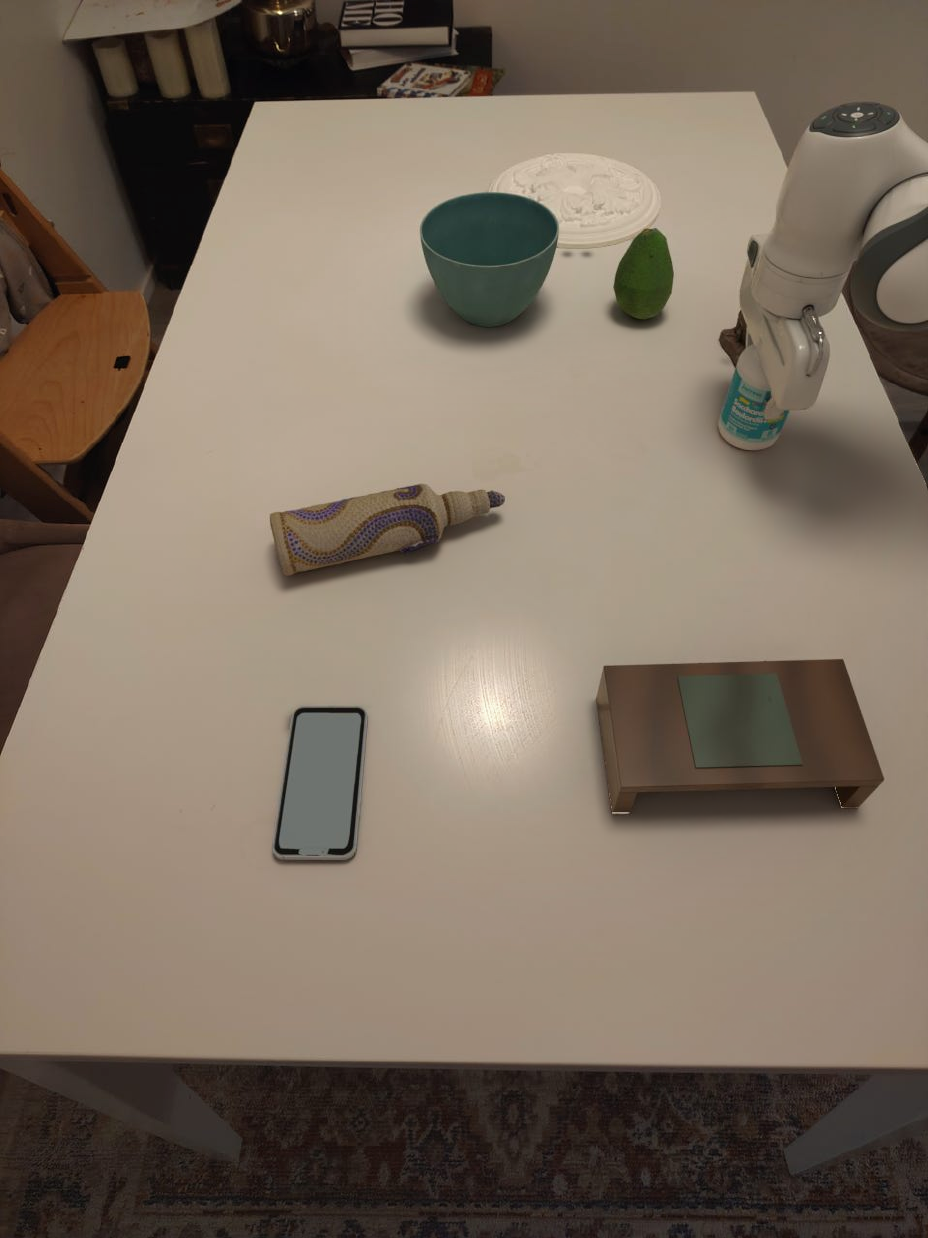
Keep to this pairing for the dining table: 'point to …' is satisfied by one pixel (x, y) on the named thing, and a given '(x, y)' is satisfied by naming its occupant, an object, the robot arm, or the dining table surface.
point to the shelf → (734, 729)
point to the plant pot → (489, 253)
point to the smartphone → (321, 784)
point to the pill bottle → (749, 405)
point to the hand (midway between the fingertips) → (759, 388)
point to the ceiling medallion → (586, 196)
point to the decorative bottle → (371, 525)
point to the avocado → (644, 275)
